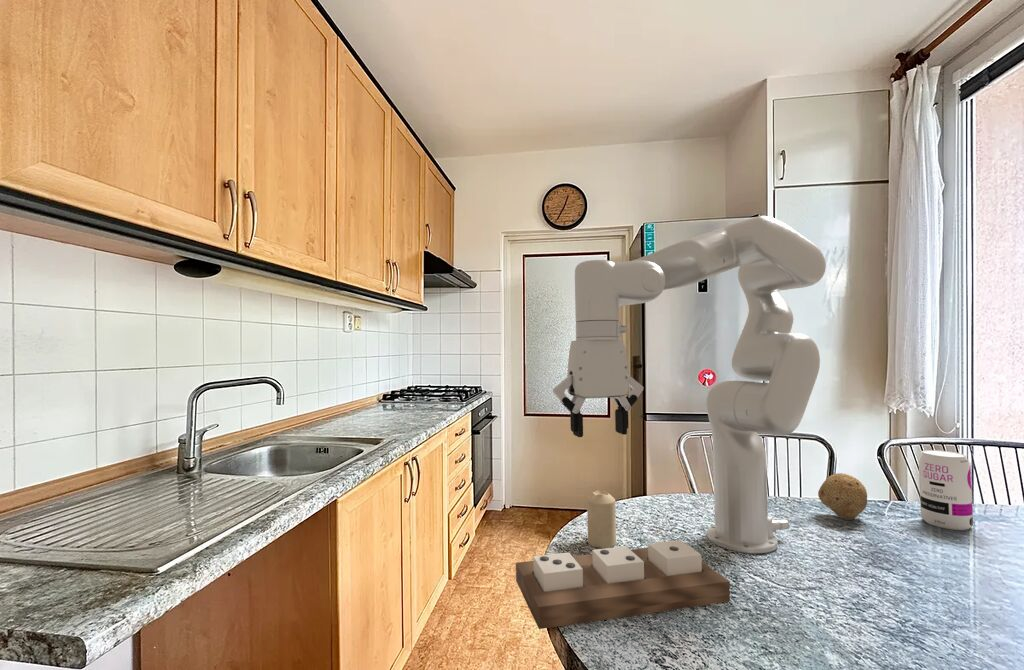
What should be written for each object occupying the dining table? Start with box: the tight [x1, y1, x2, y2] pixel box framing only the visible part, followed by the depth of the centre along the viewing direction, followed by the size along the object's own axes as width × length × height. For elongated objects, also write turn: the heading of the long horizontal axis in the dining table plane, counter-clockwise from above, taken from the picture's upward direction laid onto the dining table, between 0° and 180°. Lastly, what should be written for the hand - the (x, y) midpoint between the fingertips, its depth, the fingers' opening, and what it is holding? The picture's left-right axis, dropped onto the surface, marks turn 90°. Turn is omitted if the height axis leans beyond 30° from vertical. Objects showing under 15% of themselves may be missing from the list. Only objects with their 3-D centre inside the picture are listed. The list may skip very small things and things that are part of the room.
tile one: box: [647, 539, 703, 576], centre depth 77 cm, size 6×6×3 cm
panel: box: [515, 547, 731, 630], centre depth 75 cm, size 30×14×3 cm, turn 102°
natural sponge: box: [817, 472, 868, 521], centre depth 105 cm, size 9×9×10 cm
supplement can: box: [918, 449, 974, 531], centre depth 101 cm, size 8×8×15 cm
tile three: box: [533, 552, 583, 592], centre depth 73 cm, size 6×6×3 cm
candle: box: [586, 489, 617, 549], centre depth 94 cm, size 6×6×10 cm
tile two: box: [591, 545, 644, 584], centre depth 75 cm, size 6×6×3 cm
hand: (599, 433), depth 82 cm, fingers open, 7 cm apart
